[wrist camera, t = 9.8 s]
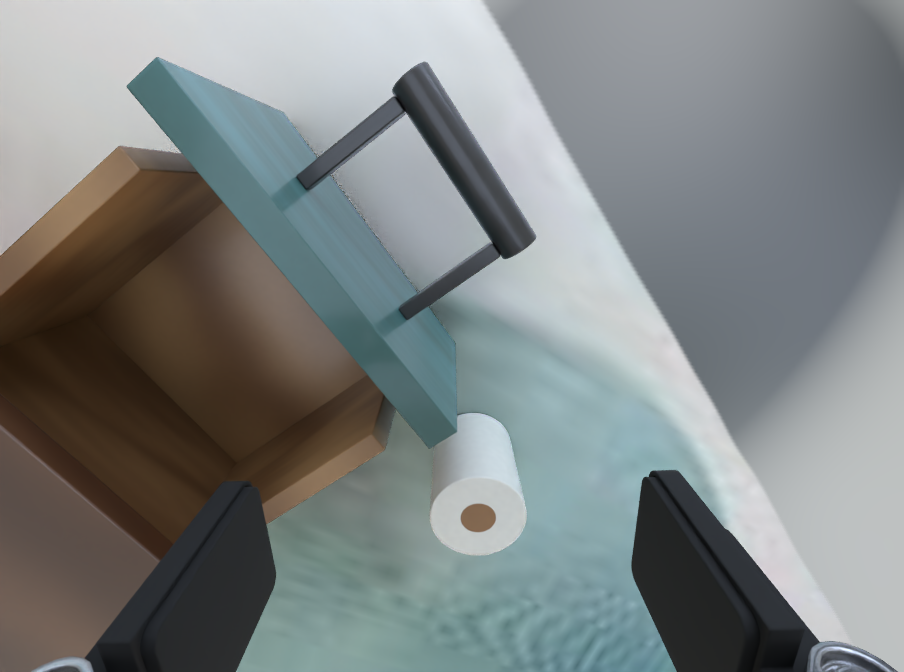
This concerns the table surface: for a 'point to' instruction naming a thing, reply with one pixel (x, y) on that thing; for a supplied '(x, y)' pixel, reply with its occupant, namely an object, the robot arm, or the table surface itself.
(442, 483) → the paper towel roll
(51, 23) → the table surface
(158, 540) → the cabinet
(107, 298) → the drawer
